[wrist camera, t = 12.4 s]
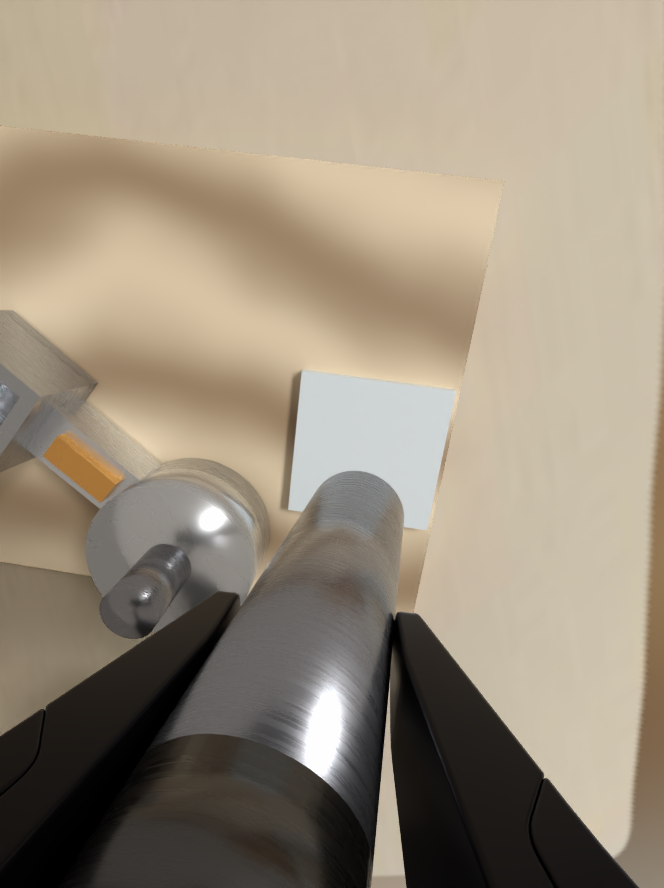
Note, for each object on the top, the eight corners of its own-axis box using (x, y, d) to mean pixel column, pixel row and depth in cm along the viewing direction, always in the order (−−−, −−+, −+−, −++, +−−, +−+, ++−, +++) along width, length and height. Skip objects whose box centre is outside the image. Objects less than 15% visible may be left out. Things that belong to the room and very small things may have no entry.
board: (407, 607, 23) (410, 627, 22) (19, 546, 24) (-4, 561, 23) (493, 192, 17) (504, 181, 16) (-27, 134, 18) (-61, 118, 17)
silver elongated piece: (300, 526, 20) (269, 618, 14) (212, 611, 22) (150, 725, 16) (26, 288, 18) (-152, 274, 12) (-46, 404, 20) (-232, 444, 14)
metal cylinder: (409, 476, 12) (363, 1017, 3) (399, 564, 13) (335, 1236, 3) (312, 465, 13) (-24, 884, 3) (308, 550, 13) (29, 1098, 4)
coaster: (425, 524, 20) (427, 530, 19) (290, 504, 20) (288, 509, 20) (453, 389, 18) (455, 391, 17) (304, 369, 18) (301, 370, 18)
